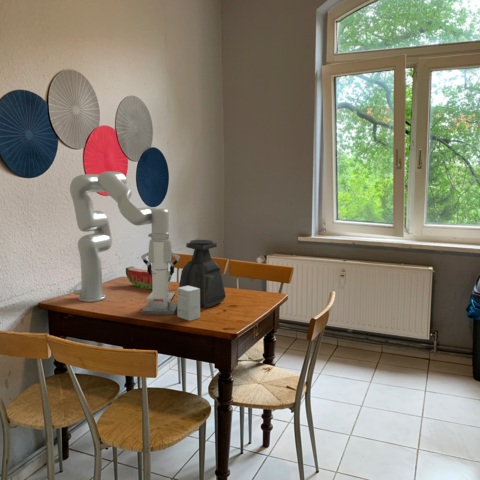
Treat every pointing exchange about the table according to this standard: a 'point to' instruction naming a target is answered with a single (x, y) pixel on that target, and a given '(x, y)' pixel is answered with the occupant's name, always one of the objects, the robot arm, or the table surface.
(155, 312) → the stand
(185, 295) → the small box
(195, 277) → the bottle
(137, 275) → the fruit slice
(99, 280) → the robot arm
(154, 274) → the cylindrical container
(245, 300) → the table surface
